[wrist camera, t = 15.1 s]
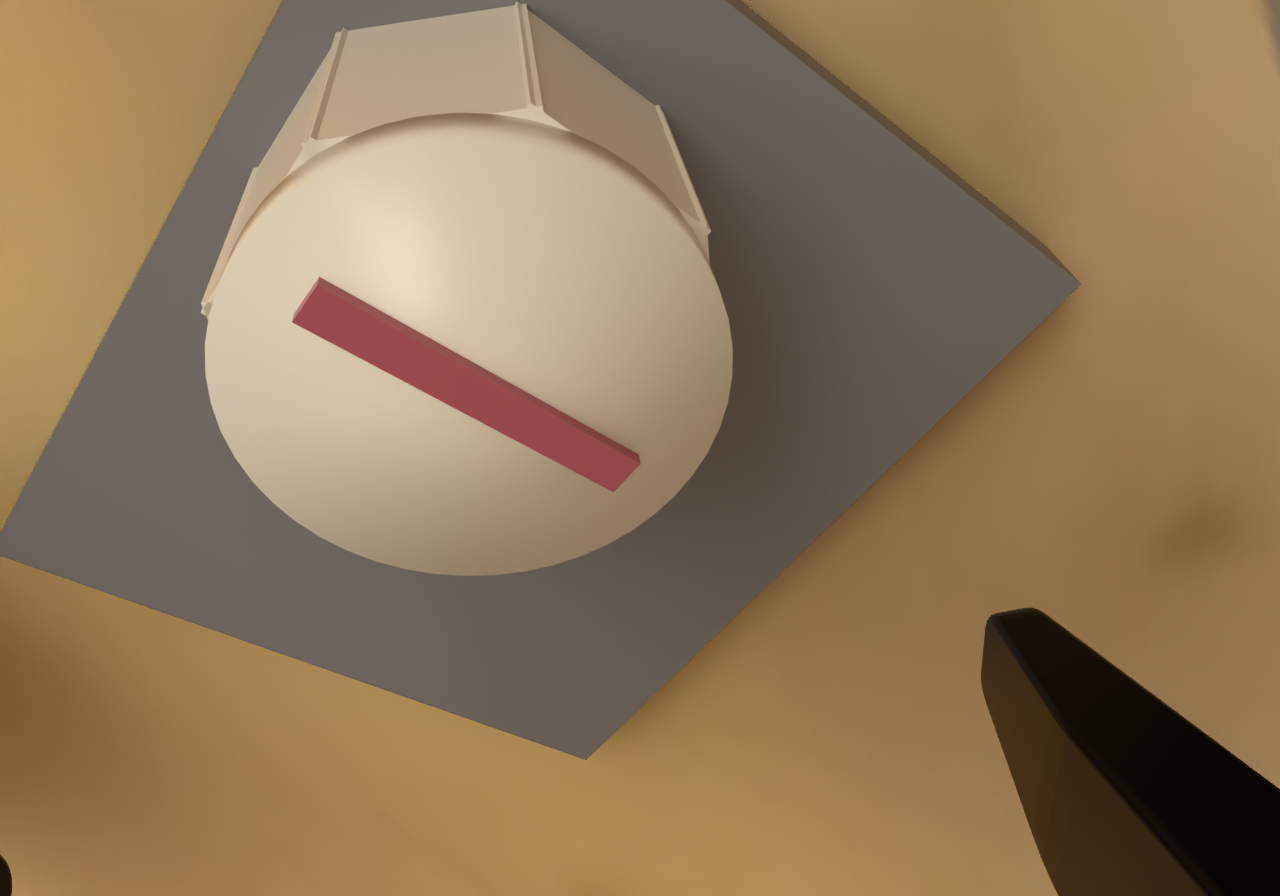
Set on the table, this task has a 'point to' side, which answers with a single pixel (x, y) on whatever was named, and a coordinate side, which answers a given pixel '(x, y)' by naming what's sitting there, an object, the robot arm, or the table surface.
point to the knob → (468, 302)
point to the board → (702, 509)
